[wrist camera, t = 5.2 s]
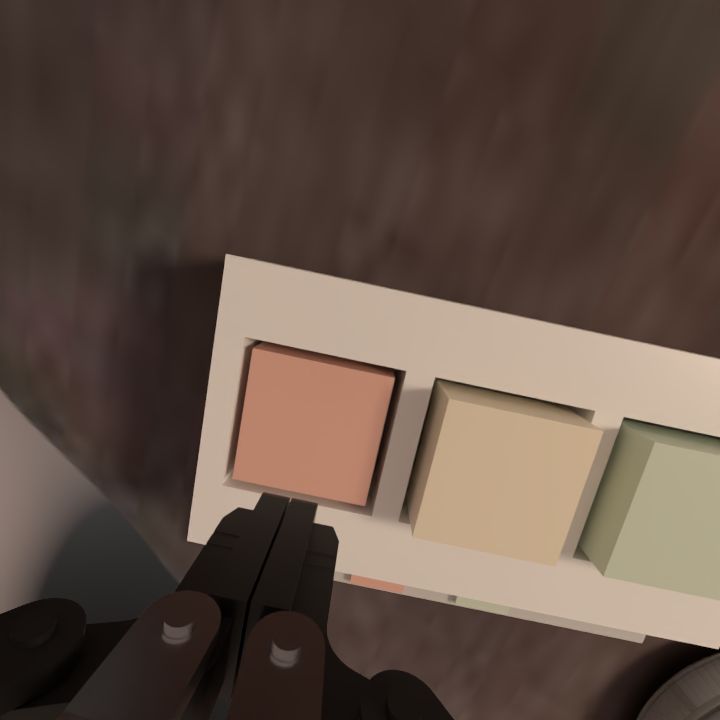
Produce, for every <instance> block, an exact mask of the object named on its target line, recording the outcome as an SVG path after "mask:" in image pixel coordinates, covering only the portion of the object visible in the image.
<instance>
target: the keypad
mask: <svg viewBox="0 0 720 720" xmlns="http://www.w3.org/2000/svg"><path fill="white" fill-rule="evenodd" d="M264 341H267V342H271V343H276V344H281V345H286V346H290V347H295V348H300V349H304V350H309V351H314V352H319V353H323V354H328V355H333V356H338V357H342V358H347V359H352V360H357V361H361V362H366V363H371V364H376V365H380V366H385V367H390V368H393V372H394V376H395V380H394V384H393V389H392V393H391V397H390V402H389V406H388V410H387V414H386V419H385V423H384V427H383V431H382V436H381V440H380V444H379V448H378V453H377V457H376V461H375V466H374V470H373V474H372V478H371V483H370V487H369V491H368V495H367V500H366V504H365V506H361V505H356V504H351V503H346V502H342V501H337V500H332V499H327V498H322V497H317V496H312V495H308V494H303V493H298V492H293V491H288V490H283V489H279V488H274V487H269V486H264V485H259V484H254V483H250V482H245V481H240V480H235V479H232V477H233V471H234V464H235V458H236V452H237V445H238V439H239V433H240V426H241V420H242V413H243V407H244V401H245V394H246V388H247V381H248V375H249V369H250V362H251V356H252V350H253V348H254V347H256V346H257V345H259V344H261V343H263V342H264ZM436 379H437V380H442V381H447V382H451V383H456V384H461V385H465V386H470V387H475V388H480V389H484V390H489V391H494V392H499V393H503V394H508V395H513V396H518V397H522V398H527V399H532V400H537V401H541V402H546V403H551V404H556V405H560V406H565V407H567V408H569V409H570V410H572V411H573V412H575V413H576V414H578V415H579V416H581V417H582V418H584V419H585V420H587V421H589V422H590V423H592V424H593V425H595V426H596V427H598V428H599V429H601V430H602V431H604V432H603V435H602V438H601V441H600V444H599V446H598V449H597V452H596V455H595V458H594V460H593V463H592V466H591V469H590V472H589V475H588V477H587V480H586V483H585V486H584V489H583V491H582V494H581V497H580V500H579V503H578V506H577V508H576V511H575V514H574V517H573V520H572V523H571V525H570V528H569V531H568V534H567V537H566V539H565V542H564V545H563V548H562V551H561V554H560V556H559V559H558V562H557V565H556V567H554V566H549V565H544V564H539V563H535V562H530V561H525V560H520V559H515V558H510V557H505V556H501V555H496V554H491V553H486V552H481V551H476V550H471V549H467V548H462V547H457V546H452V545H447V544H442V543H437V542H433V541H428V540H423V539H418V538H413V537H412V532H411V525H410V519H409V513H408V506H407V500H406V496H407V492H408V488H409V485H410V481H411V477H412V473H413V469H414V465H415V461H416V457H417V453H418V449H419V446H420V442H421V438H422V434H423V430H424V426H425V422H426V418H427V414H428V410H429V407H430V403H431V399H432V395H433V391H434V387H435V383H436ZM623 419H627V420H631V421H636V422H641V423H646V424H650V425H655V426H660V427H665V428H669V429H674V430H679V431H683V432H688V433H693V434H698V435H702V436H707V437H712V438H717V439H720V358H716V357H711V356H707V355H702V354H697V353H692V352H688V351H683V350H678V349H674V348H669V347H664V346H660V345H655V344H650V343H646V342H641V341H636V340H632V339H627V338H622V337H618V336H613V335H608V334H604V333H599V332H594V331H590V330H585V329H580V328H575V327H571V326H566V325H561V324H557V323H552V322H547V321H543V320H538V319H533V318H529V317H524V316H519V315H515V314H510V313H505V312H501V311H496V310H491V309H487V308H482V307H477V306H473V305H468V304H463V303H458V302H454V301H449V300H444V299H440V298H435V297H430V296H426V295H421V294H416V293H412V292H407V291H402V290H398V289H393V288H388V287H384V286H379V285H374V284H370V283H365V282H360V281H356V280H351V279H346V278H341V277H337V276H332V275H327V274H323V273H318V272H313V271H309V270H304V269H299V268H295V267H290V266H285V265H281V264H276V263H271V262H267V261H262V260H257V259H251V258H245V257H240V256H234V255H229V254H226V257H225V265H224V272H223V279H222V287H221V294H220V301H219V309H218V316H217V324H216V331H215V338H214V346H213V353H212V360H211V368H210V375H209V382H208V390H207V397H206V404H205V412H204V419H203V426H202V434H201V441H200V449H199V456H198V463H197V471H196V478H195V485H194V493H193V500H192V507H191V515H190V522H189V529H188V537H187V541H190V542H195V543H200V544H205V545H206V543H207V541H208V540H209V538H210V537H211V535H212V534H213V533H214V530H215V529H216V527H217V526H218V524H219V523H220V521H221V520H222V518H223V517H224V516H226V515H227V514H229V513H230V512H232V511H233V510H235V509H236V508H238V507H240V508H245V509H250V510H254V508H255V506H256V504H257V502H258V501H259V499H260V497H261V495H262V493H263V492H266V493H271V494H276V495H281V496H285V497H290V501H291V499H292V498H296V499H300V500H305V501H310V502H315V503H318V507H317V512H316V517H315V522H314V523H318V524H322V525H327V526H332V527H333V528H334V530H335V532H336V535H337V537H338V540H339V545H338V552H337V558H336V566H335V572H334V581H339V582H344V583H349V584H354V585H359V586H364V587H369V588H374V589H378V590H383V591H388V592H393V593H398V594H403V595H408V596H413V597H418V598H423V599H427V600H432V601H437V602H442V603H447V604H452V605H457V606H462V607H467V608H472V609H477V610H481V611H486V612H491V613H496V614H501V615H506V616H511V617H516V618H521V619H526V620H530V621H535V622H540V623H545V624H550V625H555V626H560V627H565V628H570V629H575V630H580V631H584V632H589V633H594V634H599V635H604V636H609V637H614V638H619V639H624V640H629V641H633V642H638V643H643V641H644V638H645V636H646V635H650V636H655V637H660V638H665V639H670V640H675V641H680V642H685V643H690V644H695V645H699V646H704V647H709V648H714V649H719V647H720V601H719V600H714V599H710V598H705V597H700V596H695V595H690V594H685V593H680V592H675V591H671V590H666V589H661V588H656V587H651V586H646V585H641V584H637V583H632V582H627V581H622V580H617V579H612V578H607V577H603V576H602V574H601V573H600V572H599V571H598V569H597V568H596V567H595V565H594V564H593V563H592V562H591V560H590V559H589V558H588V556H587V555H586V554H585V553H584V551H583V550H582V549H581V547H580V546H579V545H578V542H579V539H580V536H581V533H582V530H583V528H584V525H585V522H586V519H587V517H588V514H589V511H590V508H591V506H592V503H593V500H594V497H595V495H596V492H597V489H598V486H599V484H600V481H601V478H602V475H603V473H604V470H605V467H606V464H607V462H608V459H609V456H610V453H611V451H612V448H613V445H614V442H615V439H616V437H617V434H618V431H619V428H620V426H621V423H622V420H623Z"/></svg>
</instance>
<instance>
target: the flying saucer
mask: <svg viewBox="0 0 720 720" xmlns="http://www.w3.org/2000/svg"><path fill="white" fill-rule="evenodd" d="M636 720H720V652H719V653H716V654H713V655H711V656H708V657H705V658H703V659H701V660H699V661H697V662H695V663H693V664H691V665H689V666H687V667H685V668H684V669H682V670H681V671H679V672H678V673H676V674H675V675H673V676H672V677H671V678H669V679H668V680H667V681H666V682H665V683H663V684H662V685H661V686H660V687H659V688H658V689H657V690H656V691H655V692H654V693H653V695H652V696H651V697H650V698H649V699H648V701H647V702H646V704H645V705H644V706H643V708H642V710H641V711H640V713H639V715H638V717H637V719H636Z"/></svg>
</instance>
